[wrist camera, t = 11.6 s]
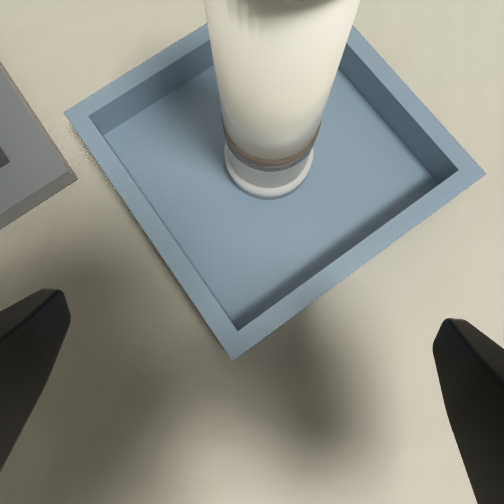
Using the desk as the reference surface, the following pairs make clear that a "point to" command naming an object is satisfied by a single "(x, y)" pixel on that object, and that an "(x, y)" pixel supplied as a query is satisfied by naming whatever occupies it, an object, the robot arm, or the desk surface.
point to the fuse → (275, 84)
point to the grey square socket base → (26, 156)
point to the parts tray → (278, 210)
